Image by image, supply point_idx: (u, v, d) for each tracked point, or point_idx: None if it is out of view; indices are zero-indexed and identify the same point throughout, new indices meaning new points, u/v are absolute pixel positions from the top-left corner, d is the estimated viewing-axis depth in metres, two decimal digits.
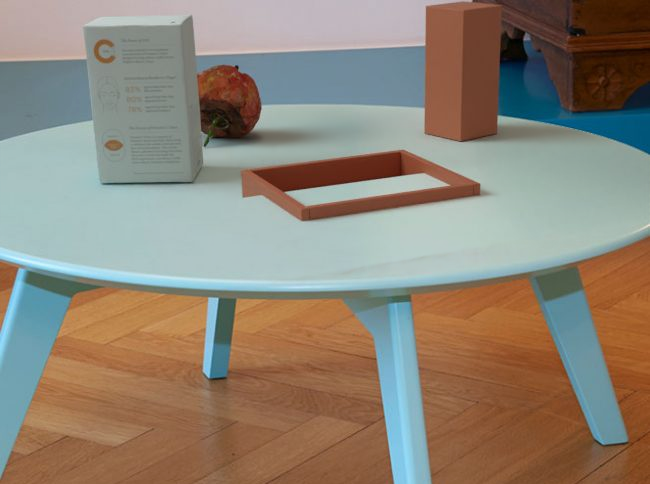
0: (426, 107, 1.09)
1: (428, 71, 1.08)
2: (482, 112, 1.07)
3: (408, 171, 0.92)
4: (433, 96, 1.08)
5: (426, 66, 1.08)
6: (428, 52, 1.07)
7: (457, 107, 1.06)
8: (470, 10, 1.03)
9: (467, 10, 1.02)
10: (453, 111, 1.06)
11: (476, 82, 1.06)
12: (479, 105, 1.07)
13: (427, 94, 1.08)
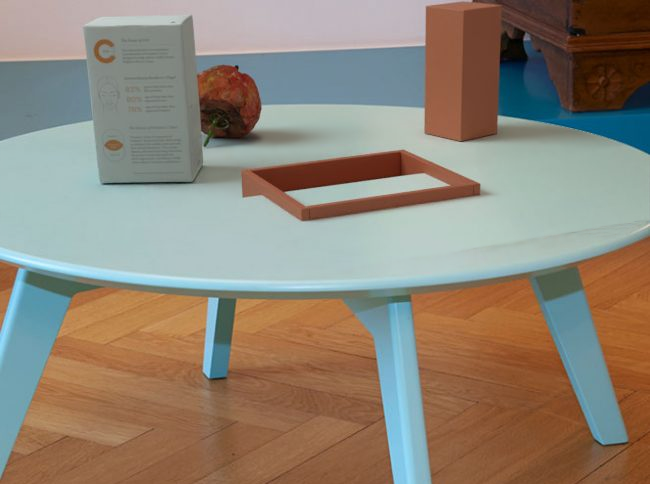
0: (426, 107, 1.09)
1: (428, 71, 1.08)
2: (482, 112, 1.07)
3: (408, 171, 0.92)
4: (433, 96, 1.08)
5: (426, 66, 1.08)
6: (428, 52, 1.07)
7: (457, 107, 1.06)
8: (470, 10, 1.03)
9: (467, 10, 1.02)
10: (453, 111, 1.06)
11: (476, 82, 1.06)
12: (479, 105, 1.07)
13: (427, 94, 1.08)
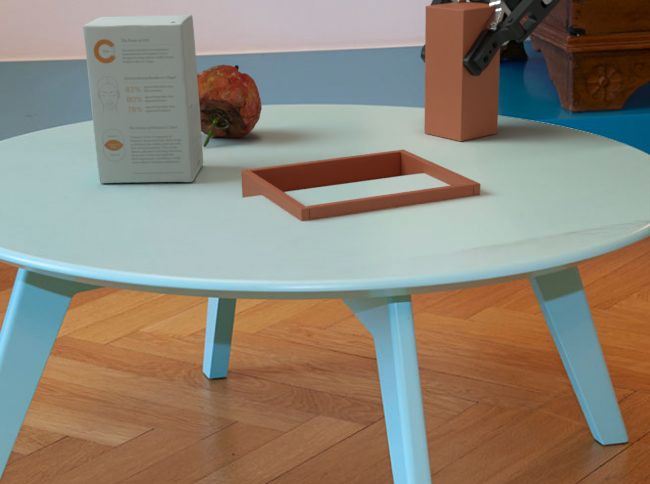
0: (426, 107, 1.09)
1: (428, 71, 1.08)
2: (482, 112, 1.07)
3: (408, 171, 0.92)
4: (433, 96, 1.08)
5: (426, 67, 1.07)
6: (428, 52, 1.07)
7: (457, 107, 1.06)
8: (470, 10, 1.03)
9: (467, 10, 1.02)
10: (453, 111, 1.06)
11: (476, 82, 1.06)
12: (479, 105, 1.07)
13: (427, 94, 1.08)
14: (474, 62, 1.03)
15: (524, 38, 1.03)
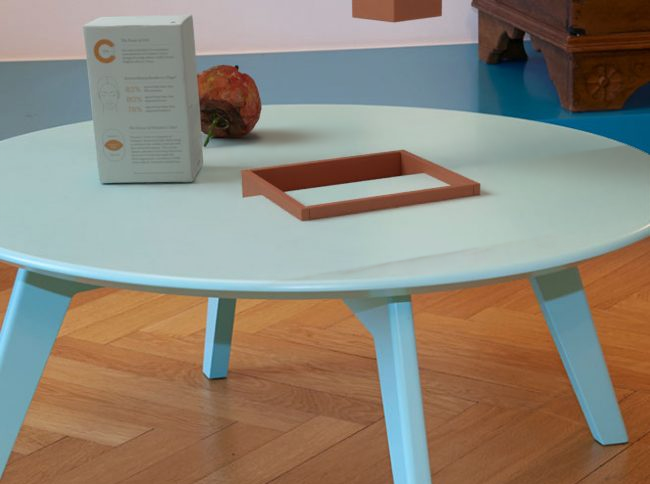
0: None
1: None
2: None
3: (408, 171, 0.92)
4: None
5: None
6: None
7: None
8: None
9: None
10: None
11: None
12: None
13: None
14: None
15: None
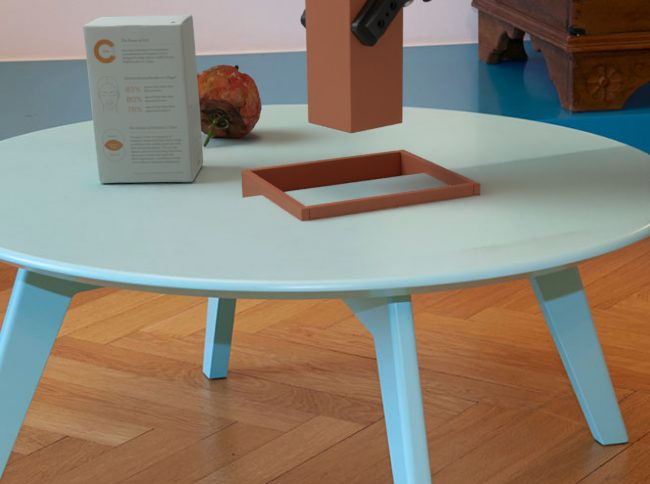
0: (309, 88, 0.83)
1: (309, 41, 0.82)
2: (380, 95, 0.81)
3: (408, 171, 0.92)
4: (317, 74, 0.82)
5: (308, 35, 0.82)
6: (309, 15, 0.81)
7: (345, 88, 0.80)
8: None
9: None
10: (341, 93, 0.80)
11: (370, 55, 0.80)
12: (376, 85, 0.81)
13: (310, 71, 0.82)
14: (365, 28, 0.78)
15: None
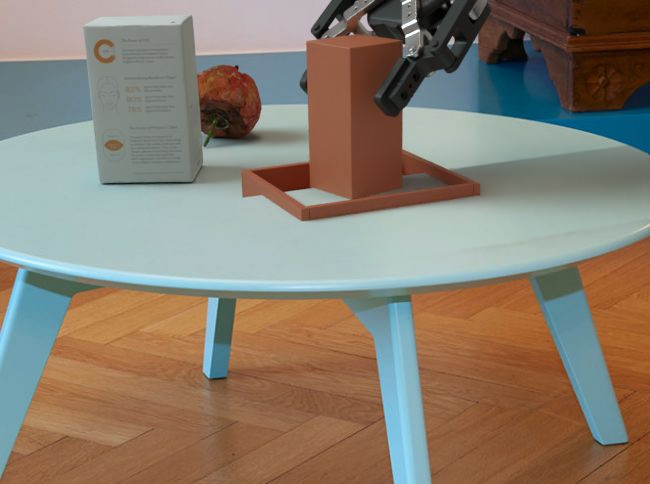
0: (311, 169, 0.85)
1: (311, 124, 0.84)
2: (381, 177, 0.84)
3: (408, 171, 0.92)
4: (319, 156, 0.84)
5: (310, 118, 0.84)
6: (311, 100, 0.83)
7: (346, 171, 0.82)
8: (359, 48, 0.79)
9: (355, 48, 0.79)
10: (342, 176, 0.83)
11: (371, 139, 0.82)
12: (376, 167, 0.83)
13: (312, 152, 0.85)
14: (389, 99, 0.79)
15: (456, 66, 0.79)
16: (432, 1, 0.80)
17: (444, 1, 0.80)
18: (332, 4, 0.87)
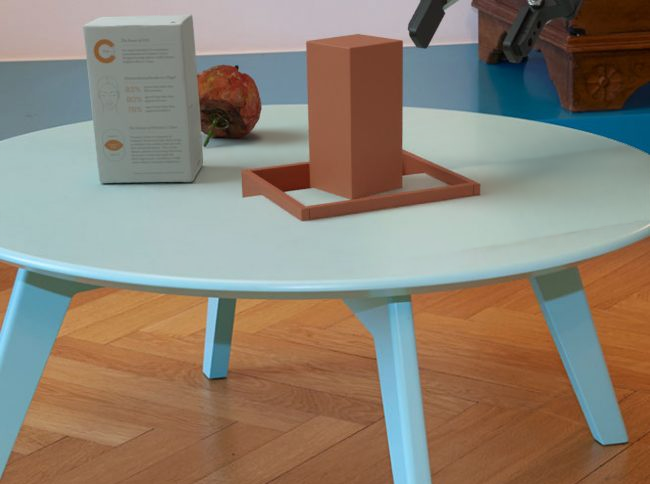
0: (311, 169, 0.85)
1: (311, 124, 0.84)
2: (381, 177, 0.84)
3: (408, 171, 0.92)
4: (319, 156, 0.84)
5: (310, 118, 0.84)
6: (311, 100, 0.83)
7: (346, 171, 0.82)
8: (359, 48, 0.79)
9: (355, 48, 0.79)
10: (342, 176, 0.83)
11: (371, 139, 0.82)
12: (376, 167, 0.83)
13: (312, 152, 0.85)
14: (517, 46, 0.84)
15: (575, 13, 0.84)
16: None
17: None
18: None
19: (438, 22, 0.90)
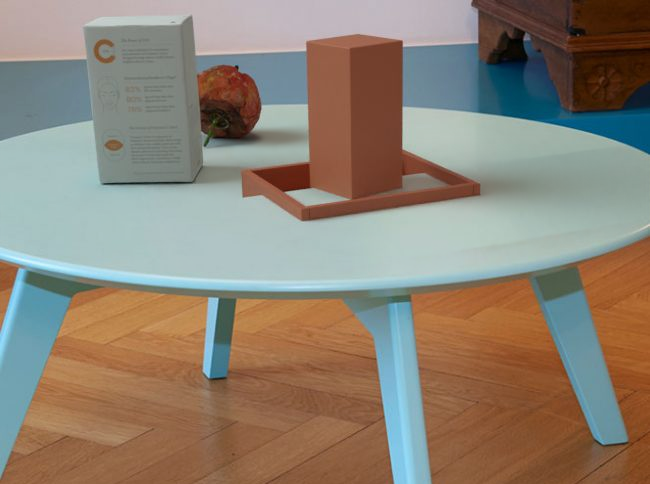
0: (311, 169, 0.85)
1: (311, 124, 0.84)
2: (381, 177, 0.84)
3: (408, 171, 0.92)
4: (319, 156, 0.84)
5: (310, 118, 0.84)
6: (311, 100, 0.83)
7: (346, 171, 0.82)
8: (359, 48, 0.79)
9: (355, 48, 0.79)
10: (342, 176, 0.83)
11: (371, 139, 0.82)
12: (376, 167, 0.83)
13: (312, 152, 0.85)
14: None
15: None
16: None
17: None
18: None
19: None
